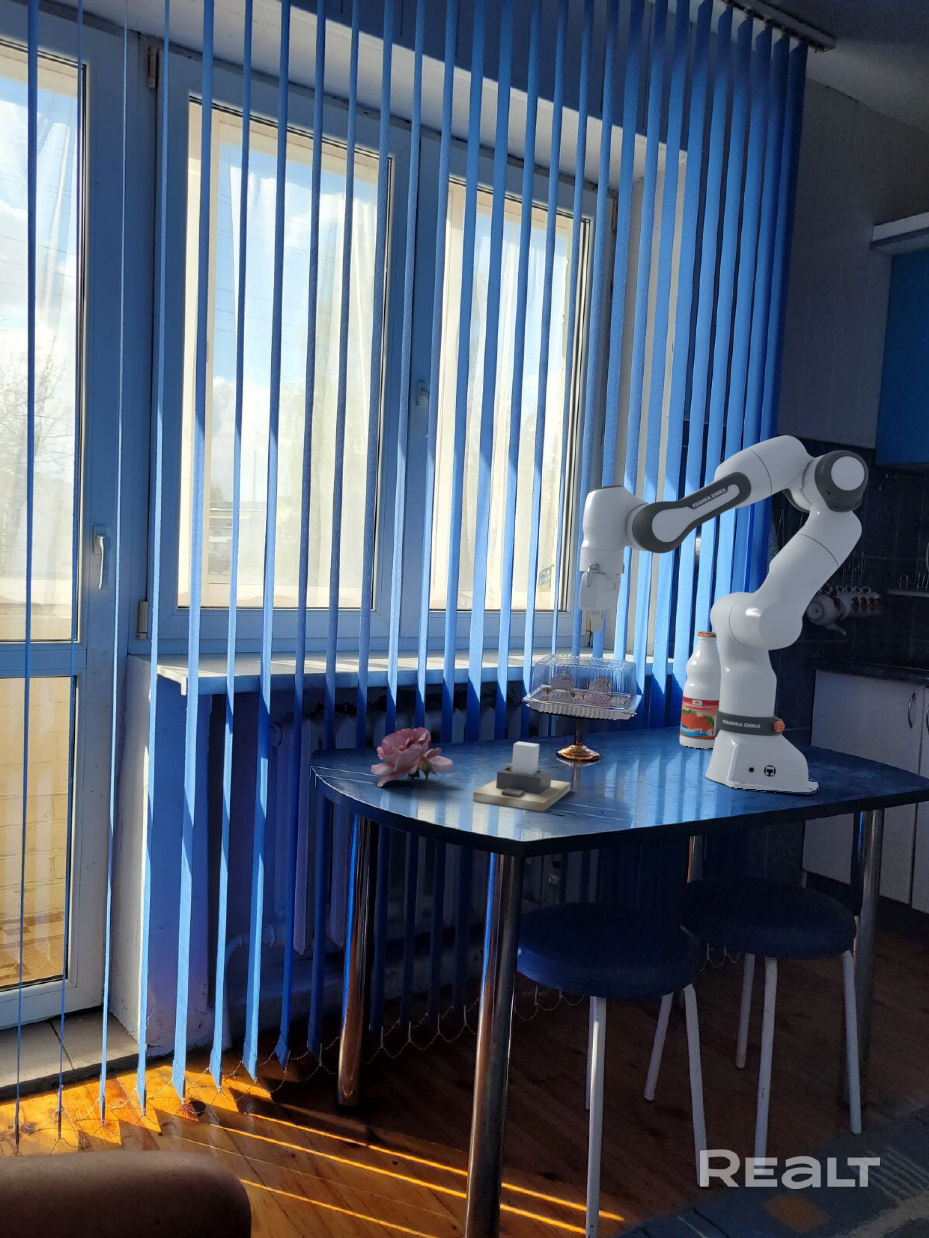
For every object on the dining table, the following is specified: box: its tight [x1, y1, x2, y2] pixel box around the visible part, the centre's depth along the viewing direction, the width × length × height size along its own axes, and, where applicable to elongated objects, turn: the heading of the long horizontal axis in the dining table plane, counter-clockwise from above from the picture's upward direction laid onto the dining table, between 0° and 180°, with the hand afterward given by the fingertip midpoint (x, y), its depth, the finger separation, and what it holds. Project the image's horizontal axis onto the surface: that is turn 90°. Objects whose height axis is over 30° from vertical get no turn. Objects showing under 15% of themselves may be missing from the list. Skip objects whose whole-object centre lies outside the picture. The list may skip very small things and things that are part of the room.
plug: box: [509, 741, 540, 775], centre depth 184 cm, size 5×3×8 cm, turn 69°
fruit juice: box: [679, 630, 721, 750], centre depth 245 cm, size 9×9×28 cm
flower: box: [370, 726, 454, 788], centre depth 187 cm, size 15×15×10 cm
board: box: [472, 778, 571, 812], centre depth 184 cm, size 13×18×2 cm
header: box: [496, 764, 552, 795], centre depth 184 cm, size 8×7×3 cm
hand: (596, 631), depth 207 cm, fingers closed
